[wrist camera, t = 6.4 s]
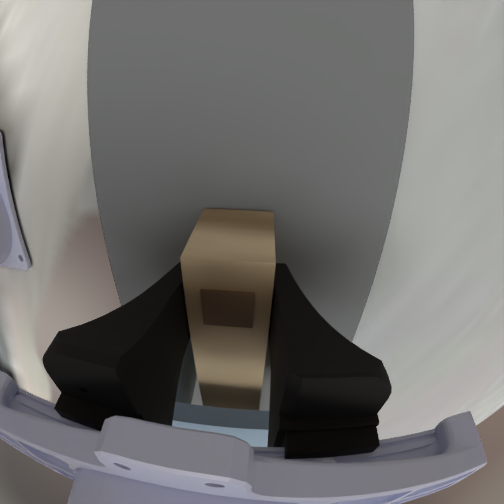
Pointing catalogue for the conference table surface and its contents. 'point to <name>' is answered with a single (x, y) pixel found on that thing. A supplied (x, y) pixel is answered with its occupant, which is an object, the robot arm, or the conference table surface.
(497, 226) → the conference table surface
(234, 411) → the light blue u-channel
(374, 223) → the mat
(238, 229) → the tan wooden bar
